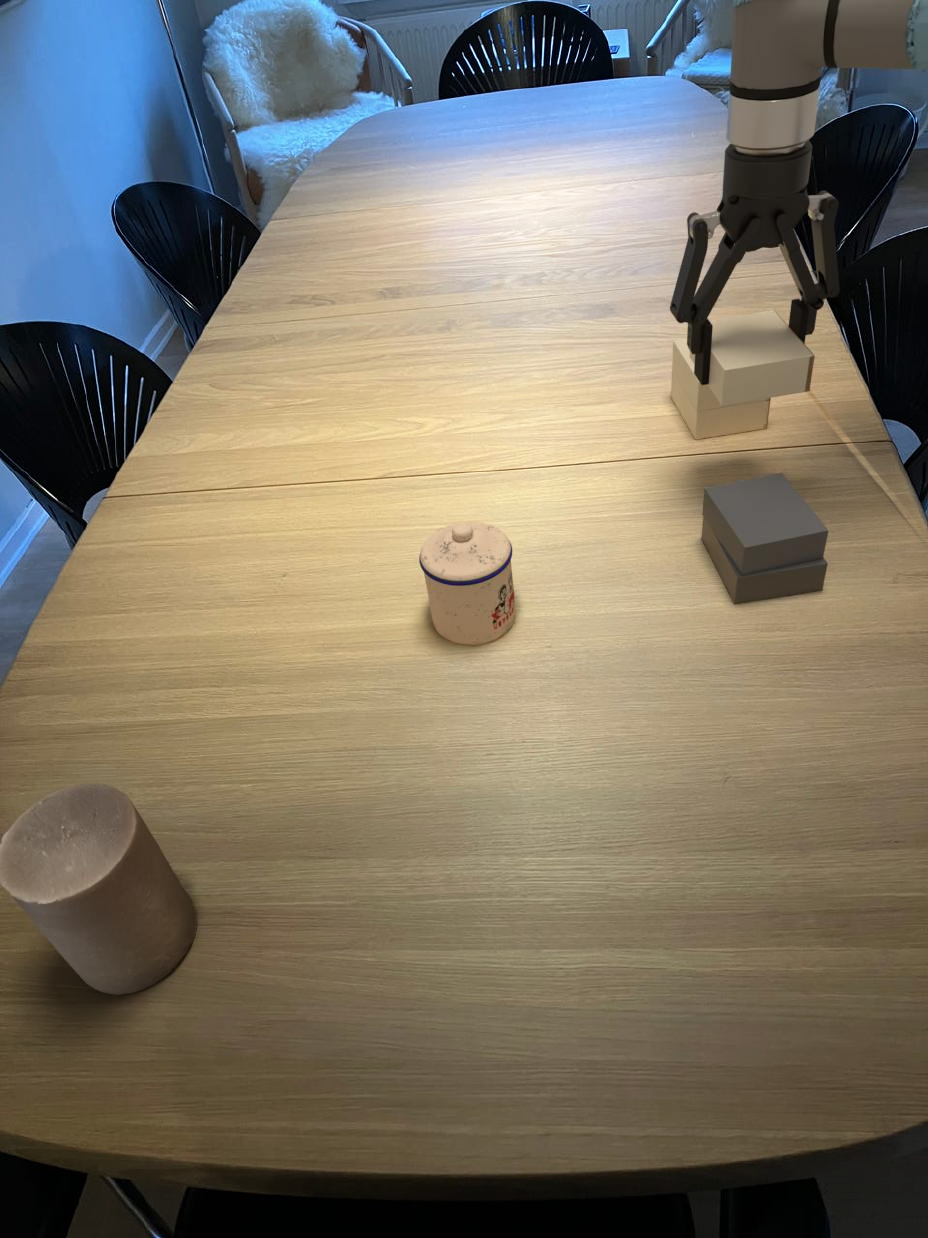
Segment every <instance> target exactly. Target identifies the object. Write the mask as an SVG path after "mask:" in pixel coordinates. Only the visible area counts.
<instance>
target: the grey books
mask: <svg viewBox="0 0 928 1238" xmlns="http://www.w3.org/2000/svg"><path fill="white" fill-rule="evenodd" d="M701 513H702V514H701V515H702V527H701V538H700V539H701V540H702V542H703V544H704V546H705V548H706V550H707V552H708V555H709V556H710V558H711V560H712V562H713V564H714V567H715V568H716V570H717V572H718V575H719V576H720V578H721V580H722V582H723V585H724V587H725V589H726V591H727V592H728V595H729V596H730V598H731V600H732V603H733V604H734V605H738V604H742V603H743V604H744V603H750V602H755V601H762V600H768V599H774V598H780V597H787V596H793V595H799V594H806V593H812V592H819V591H823V589H824V585H825V579H826V575H827V569H828V565H829V563H828V562H827V560H826V558H825V556H824V555H825V551H826V546H827V540H828V537H829V536H828V534H829V529H828V528H827V527H826V525H825V524H824V523H823V521H822V520H821V519H820V518H819V517H818V515H817V514H816V513H815V511H814V510H813V509H812V508H811V507H810V506H809V504H808V503H807V502H806V500H805V499H804V498H803V497H802V495H800V492H798V491H797V489H796V488H795V486H794V485H793V484H792V483H791V482H790V480H789V479H788V478H787V477H786V475H785V474H784V473H783V472H776V473H772V474H767V475H761V476H757V477H752V478H747V479H741V480H737V481H733V482H726V483H722V484H717V485H712V486H707V487H704V488H703V502H702V512H701Z"/></svg>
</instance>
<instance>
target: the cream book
mask: <svg viewBox="0 0 928 1238" xmlns="http://www.w3.org/2000/svg"><path fill="white" fill-rule="evenodd" d="M708 320H709V321H710V323H711V324H712V325H713V329H712V344H711V358H710V373H709V384H708V386H709V387H710V389H711V390H712V392H713V393H714V395H715V396H716V398H717V399H718V401H719V402H720V404H721V405H722V406H723V405H729V404H735V403H741V402H747V401H753V400H760V399H766V398H778V397H784V396H789V395H795V394H796V395H797V394H801V393H807V392H810V390H811V385H812V384H811V383H812V377H813V370H814V363H815V357H816V356H815V353H813V351H812V350H811V349H810V348H809V347H808V346H807V345H806V343H805V344H804V343H803V342H802V341H801V339H800V338H799V337H798V336H797V335H796V334H795V333H794V332H793V330H792V329H791V328H790V327H789V324H787V322H786V321H785V320H784V319H783V318H782V317H781V315H780V314H779V313H777V311H776V310H775V309H769V310H764V311H758V312H751V313H746V314H739V315H734V316H733V315H732V316H728V317H722V318H716V319H708ZM690 359H691V360H692V362H693V363H694V365H695V354H692V353H691V351H690Z"/></svg>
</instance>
